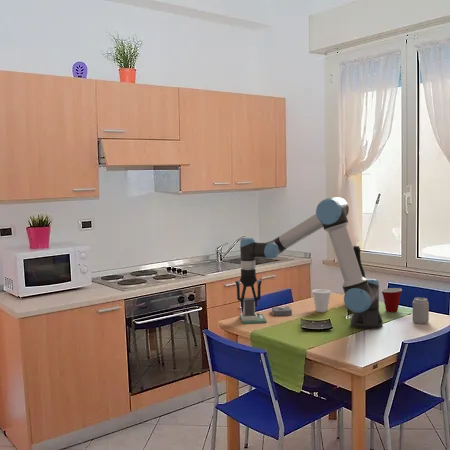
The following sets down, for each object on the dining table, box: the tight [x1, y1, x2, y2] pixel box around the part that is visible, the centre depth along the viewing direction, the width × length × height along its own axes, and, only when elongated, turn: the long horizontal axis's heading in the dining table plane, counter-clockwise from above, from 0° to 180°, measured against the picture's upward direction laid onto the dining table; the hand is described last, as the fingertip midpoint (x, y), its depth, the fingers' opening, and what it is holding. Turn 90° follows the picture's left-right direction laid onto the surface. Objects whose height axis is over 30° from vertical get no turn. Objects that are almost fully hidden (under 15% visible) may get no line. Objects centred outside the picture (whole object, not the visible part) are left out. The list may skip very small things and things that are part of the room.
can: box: [412, 297, 430, 325], centre depth 266 cm, size 8×8×12 cm
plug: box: [244, 297, 254, 315], centre depth 278 cm, size 5×4×8 cm
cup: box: [311, 288, 332, 313], centre depth 293 cm, size 10×10×11 cm
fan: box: [271, 305, 293, 317], centre depth 290 cm, size 9×9×3 cm
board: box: [239, 311, 267, 325], centre depth 279 cm, size 14×12×3 cm
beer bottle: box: [352, 245, 367, 278], centre depth 307 cm, size 10×10×33 cm
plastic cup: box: [380, 287, 403, 313], centre depth 289 cm, size 11×11×12 cm
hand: (249, 313), depth 278 cm, fingers closed on plug, 4 cm apart
